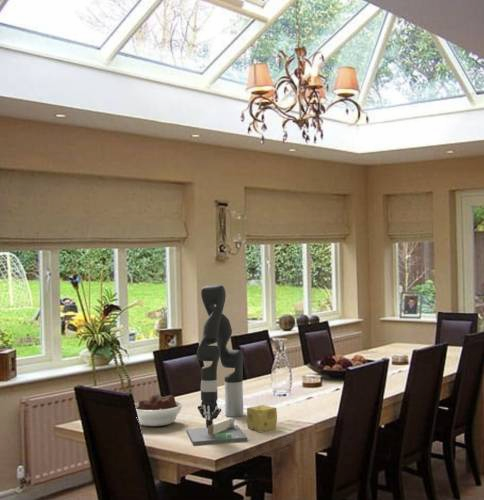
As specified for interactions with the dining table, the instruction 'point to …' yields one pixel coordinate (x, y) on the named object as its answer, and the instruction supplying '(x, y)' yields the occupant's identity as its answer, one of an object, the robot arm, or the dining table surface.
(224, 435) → the grey square slab
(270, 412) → the cheese
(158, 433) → the dining table surface
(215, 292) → the robot arm
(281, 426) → the dining table surface
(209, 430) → the beige wooden bar
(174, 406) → the bowl of brownies
